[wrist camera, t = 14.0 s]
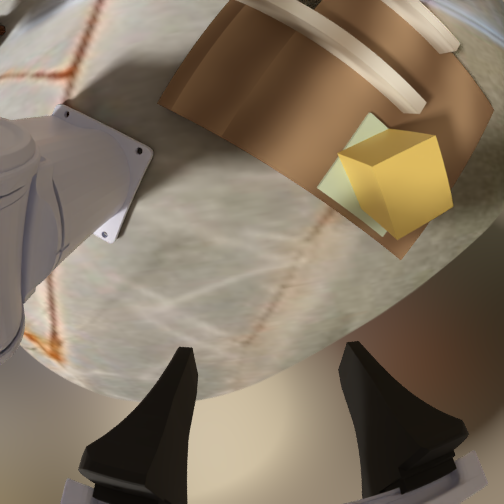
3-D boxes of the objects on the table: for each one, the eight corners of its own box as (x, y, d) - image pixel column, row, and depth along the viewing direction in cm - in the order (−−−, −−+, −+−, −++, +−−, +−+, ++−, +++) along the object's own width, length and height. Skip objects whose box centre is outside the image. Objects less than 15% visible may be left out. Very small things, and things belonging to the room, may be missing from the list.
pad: (316, 187, 17) (317, 188, 16) (368, 112, 14) (370, 112, 14) (380, 235, 18) (382, 237, 18) (427, 169, 16) (429, 170, 16)
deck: (165, 105, 16) (145, 101, 12) (291, -50, 10) (300, -77, 6) (389, 248, 21) (413, 273, 17) (479, 108, 15) (510, 112, 11)
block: (337, 153, 15) (372, 166, 11) (388, 128, 15) (435, 135, 10) (361, 208, 17) (397, 240, 12) (408, 183, 16) (453, 206, 12)
